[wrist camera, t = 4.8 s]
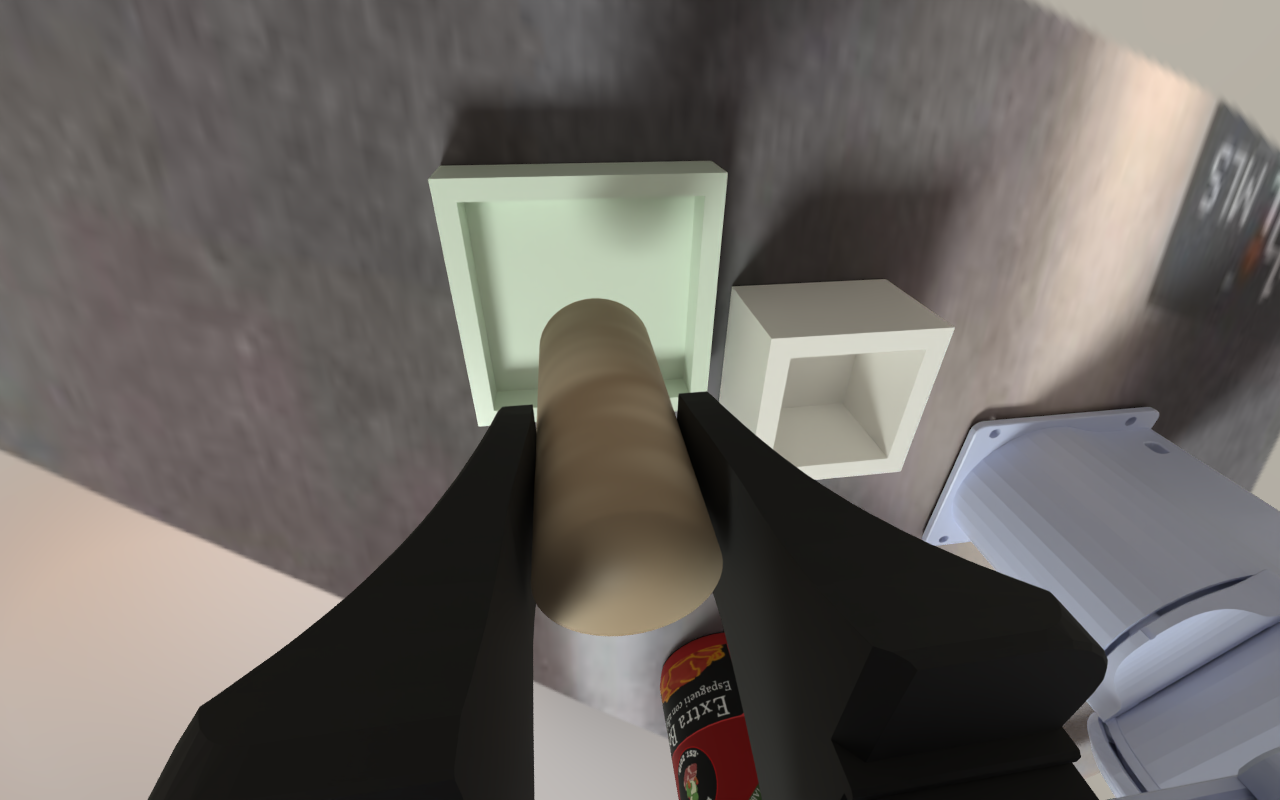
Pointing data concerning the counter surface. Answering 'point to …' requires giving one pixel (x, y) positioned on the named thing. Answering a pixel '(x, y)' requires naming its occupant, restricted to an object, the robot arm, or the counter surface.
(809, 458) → the white open box
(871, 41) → the counter surface
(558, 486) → the dowel
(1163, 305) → the counter surface
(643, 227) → the tray
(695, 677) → the canned food
